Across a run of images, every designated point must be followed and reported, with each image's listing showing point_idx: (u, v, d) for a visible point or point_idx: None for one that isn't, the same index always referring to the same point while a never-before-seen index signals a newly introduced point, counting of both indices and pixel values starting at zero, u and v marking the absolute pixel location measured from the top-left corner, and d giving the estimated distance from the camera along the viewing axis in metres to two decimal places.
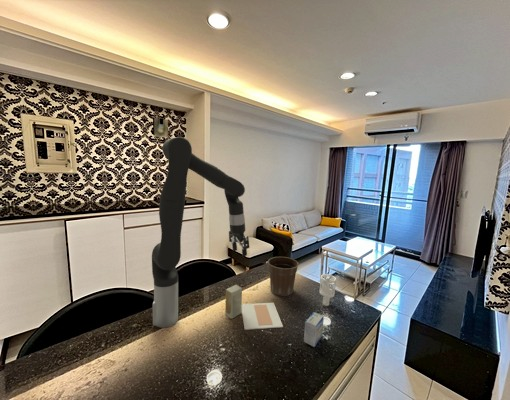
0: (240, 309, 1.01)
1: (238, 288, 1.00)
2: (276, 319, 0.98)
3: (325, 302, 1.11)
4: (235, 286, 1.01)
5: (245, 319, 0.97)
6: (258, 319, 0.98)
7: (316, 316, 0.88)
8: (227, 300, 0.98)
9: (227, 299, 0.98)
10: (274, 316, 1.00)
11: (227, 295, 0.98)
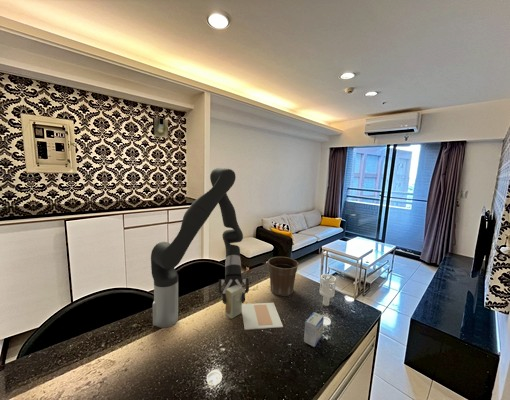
0: (240, 309, 1.01)
1: (238, 288, 1.00)
2: (276, 319, 0.98)
3: (325, 302, 1.11)
4: (235, 286, 1.01)
5: (245, 319, 0.97)
6: (258, 319, 0.98)
7: (316, 316, 0.88)
8: (227, 300, 0.98)
9: (227, 299, 0.98)
10: (274, 316, 1.00)
11: (227, 295, 0.98)
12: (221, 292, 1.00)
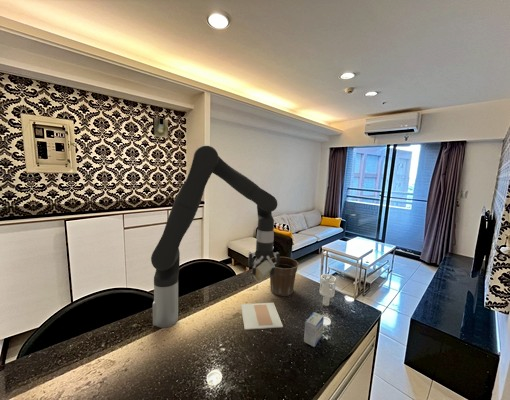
0: (267, 275, 1.06)
1: (269, 267, 0.98)
2: (276, 319, 0.98)
3: (325, 302, 1.11)
4: (266, 262, 0.99)
5: (245, 319, 0.97)
6: (258, 319, 0.98)
7: (316, 316, 0.88)
8: (257, 273, 1.00)
9: (257, 273, 1.00)
10: (274, 316, 1.00)
11: (257, 271, 0.99)
12: (251, 266, 1.00)
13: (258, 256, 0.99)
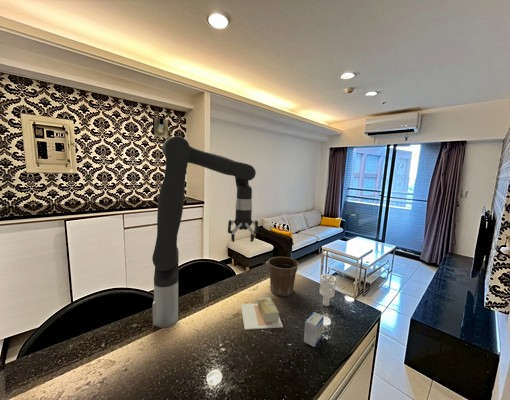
0: None
1: (275, 319, 0.96)
2: None
3: (325, 302, 1.11)
4: (276, 314, 0.96)
5: (245, 319, 0.97)
6: (258, 319, 0.98)
7: (316, 316, 0.88)
8: (262, 310, 0.99)
9: (262, 311, 0.99)
10: None
11: (263, 313, 0.97)
12: (230, 232, 1.05)
13: (237, 223, 1.05)
